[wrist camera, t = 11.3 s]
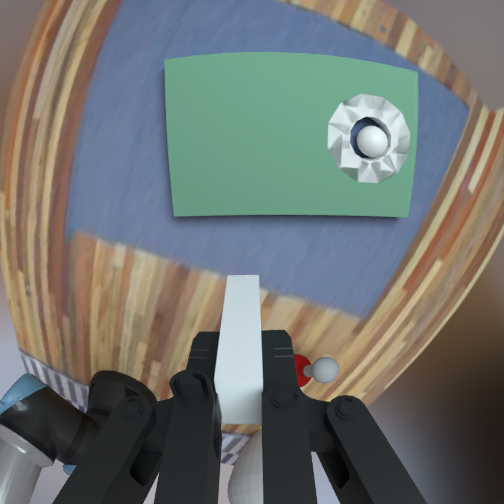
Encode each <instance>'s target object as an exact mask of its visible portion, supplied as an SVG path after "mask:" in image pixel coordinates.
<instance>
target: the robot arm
mask: <svg viewBox="0 0 504 504" xmlns="http://www.w3.org/2000/svg"><path fill="white" fill-rule="evenodd" d="M169 384H170V387H171V390H172V393H173V395H174V397H172V398H170V399H167V400H163V401H157V400H156V398H155V396H154V394H153V393H152V392H151V391H150V390H149V389H148V388H147V387H146V386H144V385H143V384H142V383H140V382H139V381H137V380H135V379H133V378H131V377H129V376H127V375H124V374H122V373H118V372H114V371H99V372H97V373H95V374H94V376H93V378H92V380H91V382H90V385H89V396H88V408H87V411H86V413H83V412H82V411H80V410H79V409H77V408H76V407H75V406H73V405H72V404H70V403H69V402H68V401H66V400H65V399H64V398H62V397H61V396H60V395H59V394H57V393H56V392H55V391H54V390H52V389H51V388H50V387H49V385H47V384H45V383H43V382H42V381H41V380H39V379H38V378H37V377H36V376H34V375H33V374H30V373H27V374H24V375H23V376H21V377H20V378H19V379H18V380H17V381H16V382H15V383H14V384H13V386H12V387H11V388H10V389H9V390H8V391H7V393H6V394H5V395H4V397H3V398H2V399H1V401H0V504H29V503H30V500H31V497H32V494H33V491H34V488H35V485H36V482H37V480H38V477H39V475H40V472H41V470H42V468H44V467H48V466H53V464H54V461H55V459H57V460H59V461H60V462H62V463H64V465H63V468H64V469H63V470H64V472H65V473H66V474H68V475H70V477H69V478H68V480H67V481H66V483H65V484H64V486H63V488H62V489H61V491H60V492H59V494H58V495H57V497H56V499H55V500H54V502H53V503H52V504H143V503H144V500H145V499H146V497H147V495H148V493H149V491H150V489H151V487H152V485H153V483H154V481H155V479H156V477H157V475H158V473H159V477H158V482H157V488H156V493H155V499H154V504H218V493H219V492H218V491H219V476H220V461H221V446H222V433H221V420H222V424H262V464H263V504H317V496H316V488H315V480H314V472H313V464H312V457H311V451H313V452H316V453H317V455H318V457H319V459H320V462H321V464H322V466H323V468H324V470H325V472H326V475H327V477H328V479H329V481H330V483H331V485H332V487H333V489H334V492H335V493H336V496H337V498H338V500H339V502H340V504H427V503H426V501H425V499H424V498H423V496H422V495H421V493H420V491H419V490H418V488H417V487H416V485H415V483H414V482H413V480H412V479H411V477H410V475H409V474H408V472H407V471H406V469H405V468H404V466H403V464H402V463H401V461H400V459H399V458H398V457H397V455H396V453H395V452H394V450H393V448H392V447H391V445H390V444H389V442H388V441H387V439H386V437H385V436H384V434H383V433H382V431H381V430H380V428H379V426H378V425H377V423H376V422H375V420H374V419H373V417H372V416H371V414H370V412H369V411H368V409H367V408H366V406H365V405H364V403H363V402H362V401H361V400H360V399H358V398H356V397H354V396H348V395H343V396H338V397H336V398H334V399H332V400H331V401H330V402H326V401H320V400H316V399H312V398H310V397H308V396H306V395H305V394H304V393H303V392H302V391H301V389H300V388H299V385H298V379H297V373H296V366H295V360H294V354H293V347H292V341H291V337H290V336H289V335H288V333H287V332H286V331H285V330H266V331H261V319H260V295H259V275H229V276H228V278H227V285H226V292H225V300H224V307H223V314H222V322H221V329H220V332H199V333H198V334H197V335H196V337H195V338H194V339H193V342H192V346H191V351H190V355H189V359H188V363H187V368H186V370H183V371H181V372H178V373H177V374H175V375H174V376H173V377H172V379H171V380H170V382H169Z"/></svg>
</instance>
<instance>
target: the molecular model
mask: <svg viewBox="0 0 504 504" xmlns="http://www.w3.org/2000/svg"><path fill="white" fill-rule="evenodd" d="M294 360H295V366H296V373H297V379H298V385H299V388H300V387H303V386H305V385H306V384H307V383H308V382H309V381H310V379H311V377H313V378H314V379H315V380H316V381H317V382H319V383H330V382H332V381H333V380H334V379H335V378H336V377H337V375H338V372H339V367H338V364H337V362H336V361H335V360H334V359H332V358H330V357H322V358H319V359H318V360H316V361H315V362H314V364H313V365H311V363H310V361H309V360H308V359H307V358H305V357H304V356H301V355H294ZM261 425H262V424H261Z"/></svg>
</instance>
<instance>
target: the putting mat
mask: <svg viewBox="0 0 504 504" xmlns="http://www.w3.org/2000/svg"><path fill="white" fill-rule="evenodd" d="M165 103H166V126H167V143H168V157H169V170H170V182H171V192H172V202H173V212H174V217H178V216H214V215H349V216H384V217H408V214H409V208H410V201H411V194H412V186H413V178H414V168H415V157H416V145H417V127H418V72H415V71H411V70H407V69H403V68H399V67H394V66H390V65H385V64H380V63H375V62H370V61H364V60H358V59H351V58H344V57H336V56H327V55H317V54H305V53H286V52H239V53H220V54H207V55H197V56H188V57H180V58H173V59H167V60H165ZM364 117H370V118H371V119H372V120H374V121H375V122H376V123H377V124H378V125H379V127H380V129H381V130H382V131H383V132H384V133H385V134H386V136H387V140H388V145H387V149H386V151H385V152H384V153H383V154H382V155H380V156H377V157H369V158H361V157H359V156H358V155H356V154H355V152H354V150H353V148H352V146H351V144H350V131H351V129H352V127H353V126H354V124H355V123H356V121H358V120H360V119H362V118H364Z"/></svg>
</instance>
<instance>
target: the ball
mask: <svg viewBox="0 0 504 504" xmlns="http://www.w3.org/2000/svg"><path fill="white" fill-rule="evenodd" d="M357 145H358V147H359V149H360V151H361V152H362V153H364V154H365V155H367V156H370V157H377V156H380V155H382V154H383V153H384V152H385V151H386V149H387V145H388V140H387V136H386V134H385V133H384V132H383V131H382V130H381V129H380V128H378V127H376V126H367V127H364V128H363V129H361V130H360V132H359V133H358V136H357Z"/></svg>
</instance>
